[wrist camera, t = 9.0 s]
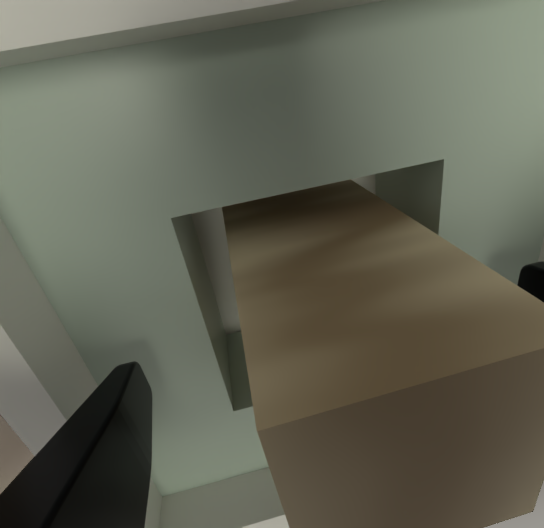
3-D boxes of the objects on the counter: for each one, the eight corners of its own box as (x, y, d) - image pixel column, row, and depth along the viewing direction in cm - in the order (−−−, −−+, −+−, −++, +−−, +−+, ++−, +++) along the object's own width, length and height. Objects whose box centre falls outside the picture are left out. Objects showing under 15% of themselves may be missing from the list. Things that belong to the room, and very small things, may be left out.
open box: (489, -41, 10) (813, -181, 5) (448, 335, 17) (562, 450, 11) (-20, 46, 9) (-347, -11, 4) (157, 410, 16) (134, 577, 10)
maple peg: (344, 175, 11) (593, 333, 4) (354, 280, 13) (532, 511, 6) (221, 205, 11) (256, 430, 4) (249, 308, 13) (308, 584, 6)
